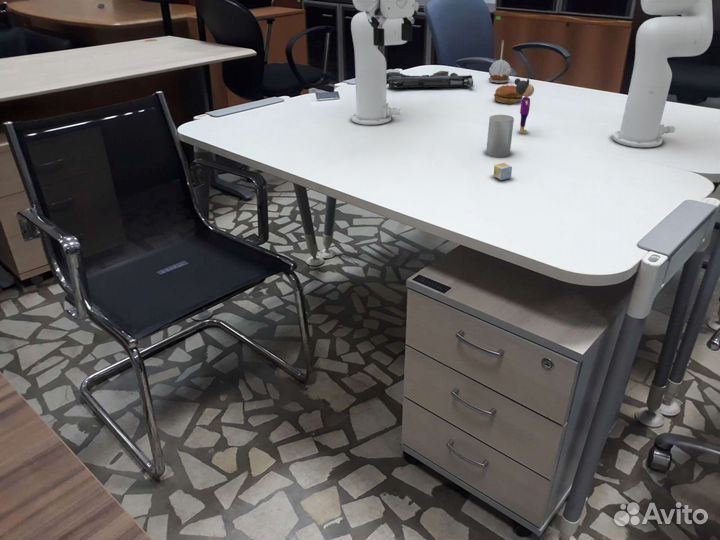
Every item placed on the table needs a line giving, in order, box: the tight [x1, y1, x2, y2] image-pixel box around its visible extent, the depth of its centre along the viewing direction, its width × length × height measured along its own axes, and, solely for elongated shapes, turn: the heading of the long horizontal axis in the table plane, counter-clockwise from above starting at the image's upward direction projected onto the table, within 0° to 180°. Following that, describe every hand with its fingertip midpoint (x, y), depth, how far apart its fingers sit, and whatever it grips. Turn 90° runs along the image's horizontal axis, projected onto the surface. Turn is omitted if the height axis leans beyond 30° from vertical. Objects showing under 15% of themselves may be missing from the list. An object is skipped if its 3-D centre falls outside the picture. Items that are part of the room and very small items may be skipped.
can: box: [485, 114, 515, 158], centre depth 150 cm, size 6×6×10 cm
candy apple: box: [487, 39, 512, 84], centre depth 216 cm, size 8×8×15 cm
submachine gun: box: [386, 70, 474, 89], centre depth 219 cm, size 33×4×25 cm
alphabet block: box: [493, 162, 513, 181], centre depth 136 cm, size 3×3×3 cm
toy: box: [514, 77, 535, 134], centre depth 162 cm, size 10×6×15 cm, turn 168°
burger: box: [493, 84, 524, 105], centre depth 195 cm, size 10×9×5 cm
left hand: (393, 43), depth 141 cm, fingers open, 9 cm apart
